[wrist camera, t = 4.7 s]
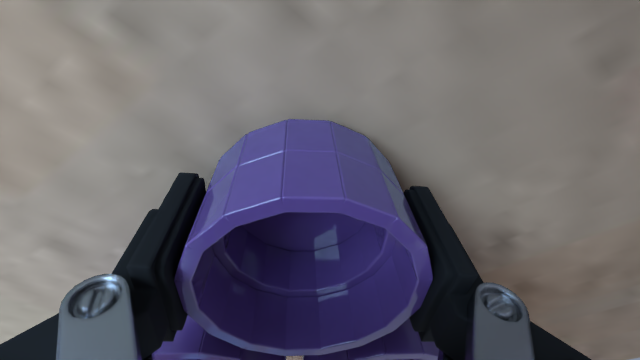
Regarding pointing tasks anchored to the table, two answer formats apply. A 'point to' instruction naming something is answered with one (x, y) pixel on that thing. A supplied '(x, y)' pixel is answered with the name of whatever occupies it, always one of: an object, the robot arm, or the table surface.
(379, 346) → the purple cup
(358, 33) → the table surface
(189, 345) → the dish middle
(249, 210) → the dish inner
